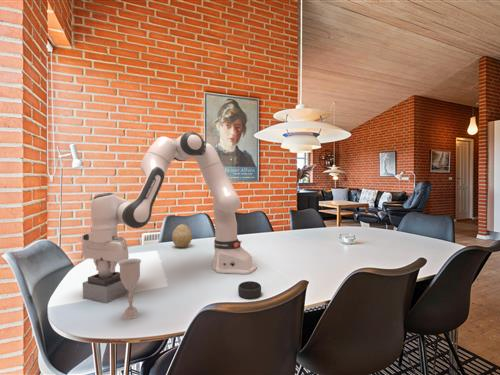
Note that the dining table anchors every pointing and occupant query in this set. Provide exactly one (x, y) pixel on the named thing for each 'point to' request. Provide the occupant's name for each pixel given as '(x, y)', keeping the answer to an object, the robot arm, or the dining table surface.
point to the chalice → (130, 282)
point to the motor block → (103, 288)
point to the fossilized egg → (182, 236)
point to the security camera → (104, 269)
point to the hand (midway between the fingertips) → (105, 271)
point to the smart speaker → (249, 290)
